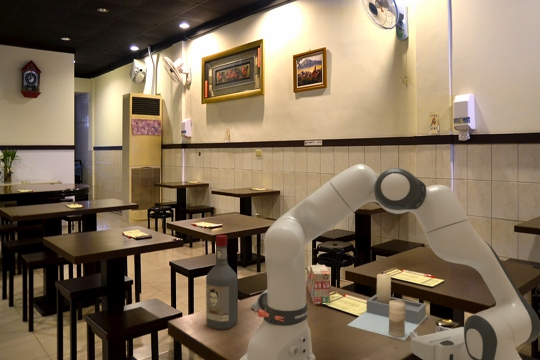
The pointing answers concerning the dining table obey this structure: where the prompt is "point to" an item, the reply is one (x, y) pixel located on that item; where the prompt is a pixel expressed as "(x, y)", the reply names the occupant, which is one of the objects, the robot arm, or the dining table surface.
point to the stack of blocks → (318, 283)
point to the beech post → (396, 318)
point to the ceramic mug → (261, 301)
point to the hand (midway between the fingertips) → (424, 331)
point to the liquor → (221, 290)
